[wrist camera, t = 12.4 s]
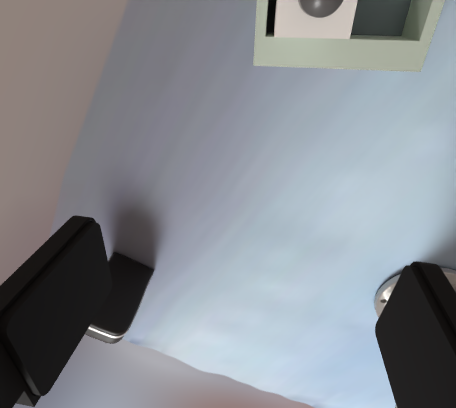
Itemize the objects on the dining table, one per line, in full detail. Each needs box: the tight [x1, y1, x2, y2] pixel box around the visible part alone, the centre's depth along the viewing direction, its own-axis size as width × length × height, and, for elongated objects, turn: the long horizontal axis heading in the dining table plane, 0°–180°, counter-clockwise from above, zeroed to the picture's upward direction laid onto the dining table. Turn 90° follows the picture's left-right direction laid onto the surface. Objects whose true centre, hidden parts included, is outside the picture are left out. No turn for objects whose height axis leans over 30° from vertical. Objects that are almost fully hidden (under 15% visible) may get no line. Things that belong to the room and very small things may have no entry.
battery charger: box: [85, 253, 154, 344], centre depth 41 cm, size 7×4×11 cm, turn 62°
